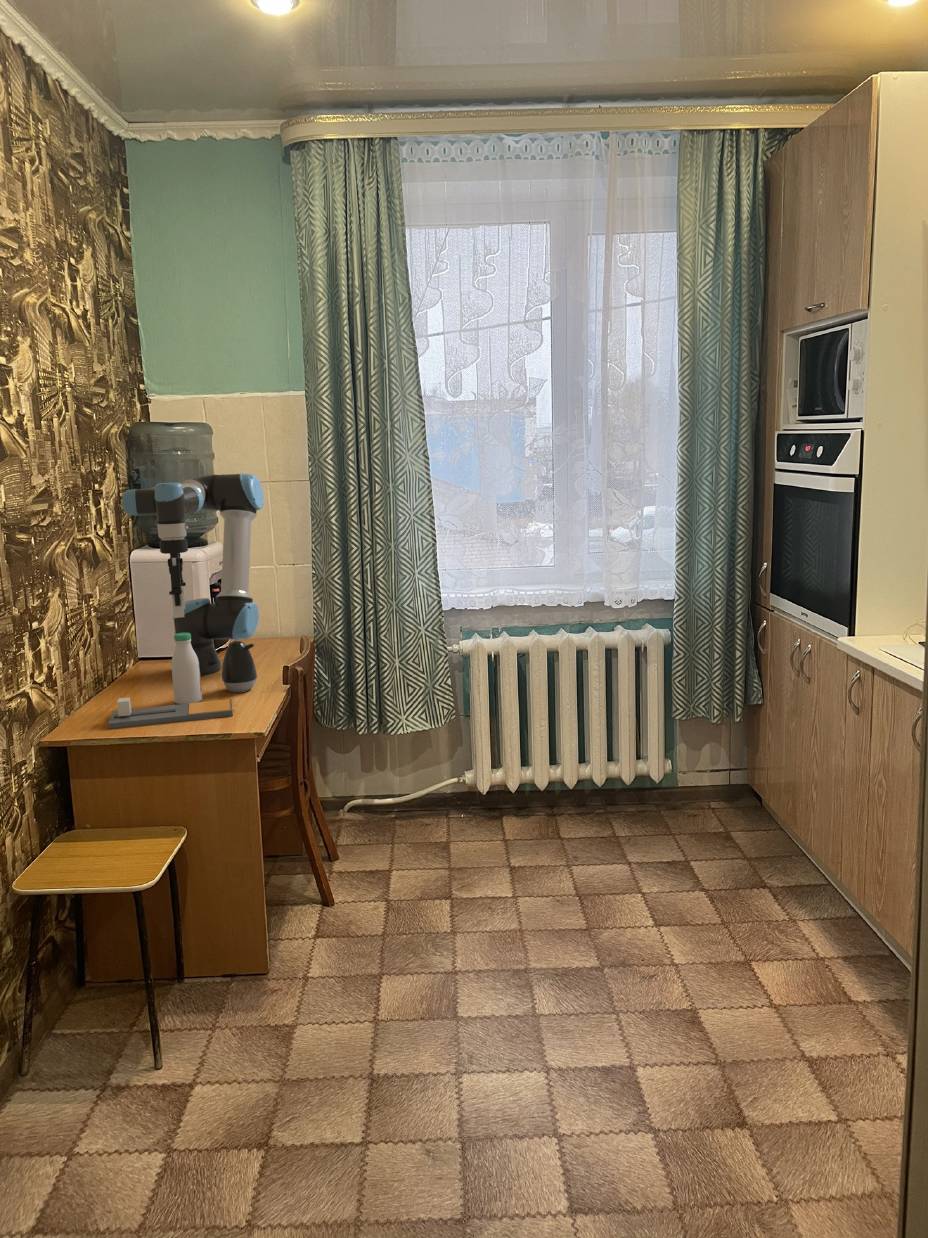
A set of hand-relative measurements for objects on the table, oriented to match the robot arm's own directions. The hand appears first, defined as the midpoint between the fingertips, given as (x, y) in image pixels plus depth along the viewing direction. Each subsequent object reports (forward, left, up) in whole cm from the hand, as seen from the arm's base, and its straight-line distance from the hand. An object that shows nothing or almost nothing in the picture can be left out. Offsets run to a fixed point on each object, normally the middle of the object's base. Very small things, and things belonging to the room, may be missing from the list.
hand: (180, 613), depth 275 cm
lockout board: (+14, -4, -26) cm, 30 cm away
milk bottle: (0, 0, -26) cm, 26 cm away
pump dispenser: (-7, +15, -26) cm, 31 cm away
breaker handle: (+14, -16, -24) cm, 32 cm away
